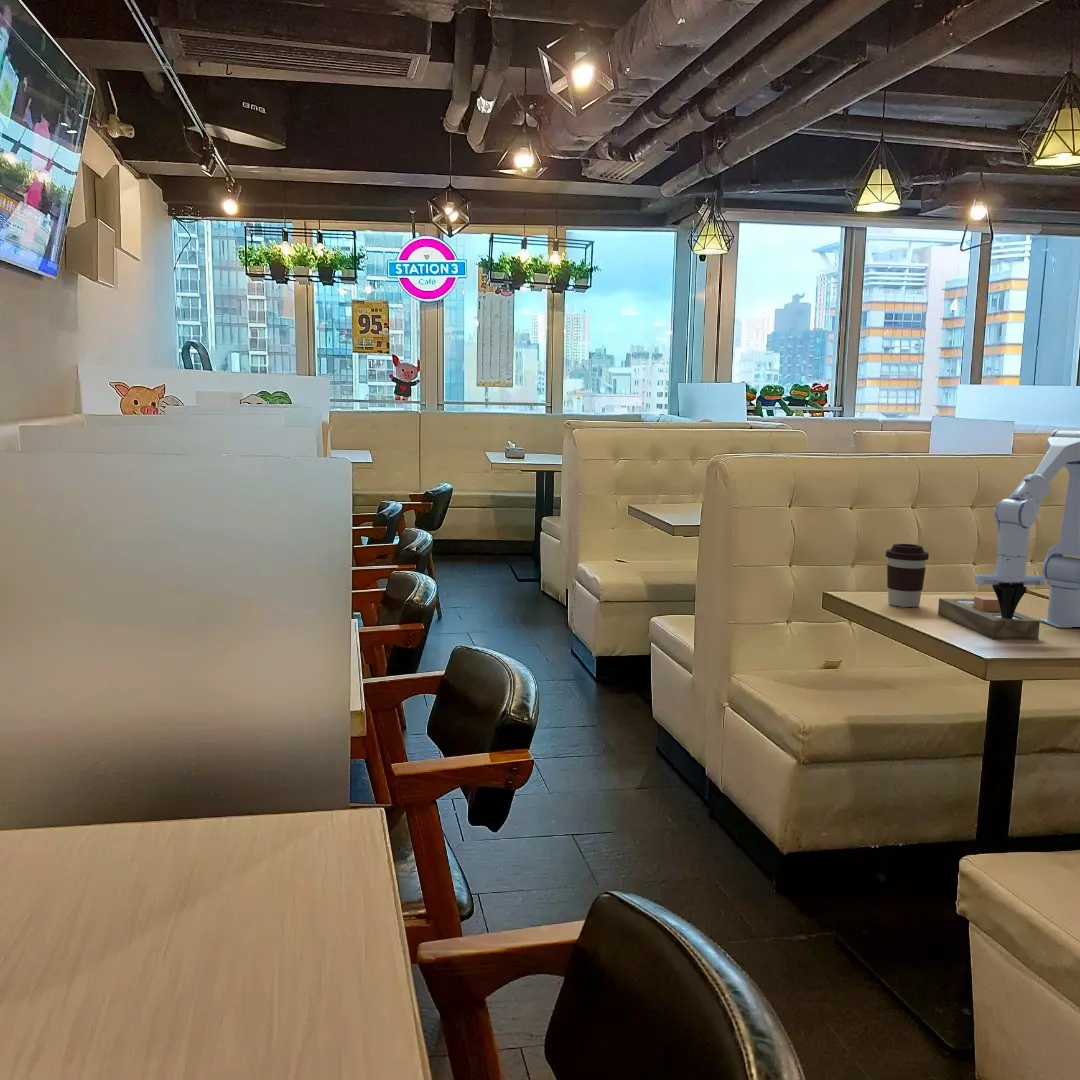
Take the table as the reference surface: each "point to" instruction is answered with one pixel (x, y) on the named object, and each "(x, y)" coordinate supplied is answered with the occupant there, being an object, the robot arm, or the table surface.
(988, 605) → the orange square block
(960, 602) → the steel plunger
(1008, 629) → the block
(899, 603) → the coffee cup
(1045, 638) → the table surface
